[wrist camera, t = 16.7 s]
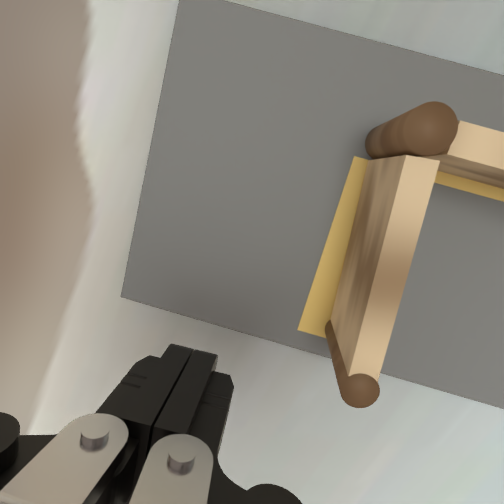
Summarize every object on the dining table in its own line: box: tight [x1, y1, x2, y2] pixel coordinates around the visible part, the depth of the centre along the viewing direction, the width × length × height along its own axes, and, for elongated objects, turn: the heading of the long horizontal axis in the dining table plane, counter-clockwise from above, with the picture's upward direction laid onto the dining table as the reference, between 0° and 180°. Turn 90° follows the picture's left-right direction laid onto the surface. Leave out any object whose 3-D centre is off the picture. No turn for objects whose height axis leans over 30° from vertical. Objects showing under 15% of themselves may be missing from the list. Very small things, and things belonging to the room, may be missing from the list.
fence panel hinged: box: [325, 155, 440, 408], centre depth 17 cm, size 10×2×6 cm, turn 170°
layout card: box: [121, 0, 504, 409], centre depth 20 cm, size 24×17×1 cm
